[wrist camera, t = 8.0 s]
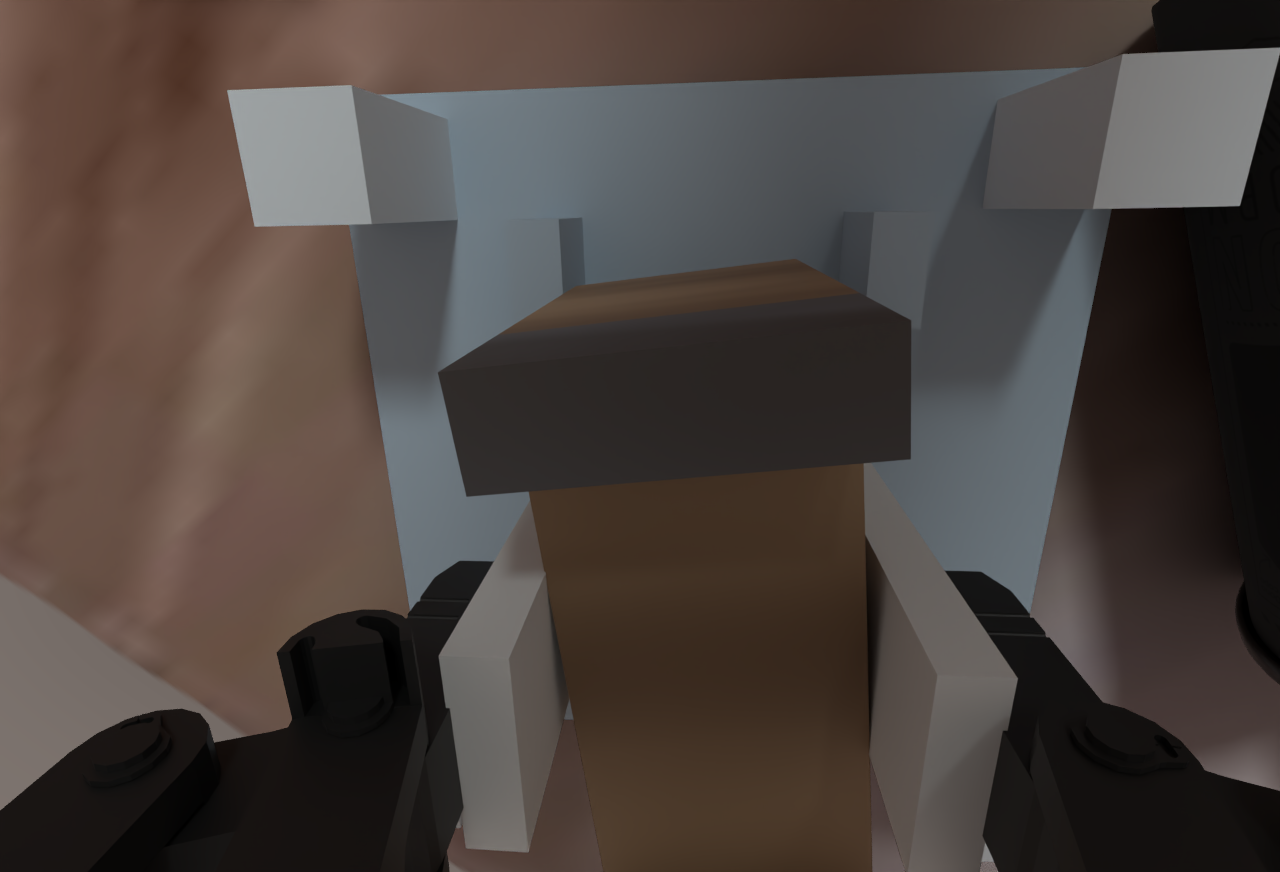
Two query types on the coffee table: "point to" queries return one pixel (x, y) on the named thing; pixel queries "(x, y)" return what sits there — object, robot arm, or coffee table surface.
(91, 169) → the coffee table surface
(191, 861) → the robot arm
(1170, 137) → the jig
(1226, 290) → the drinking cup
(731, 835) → the brown blocky piece
